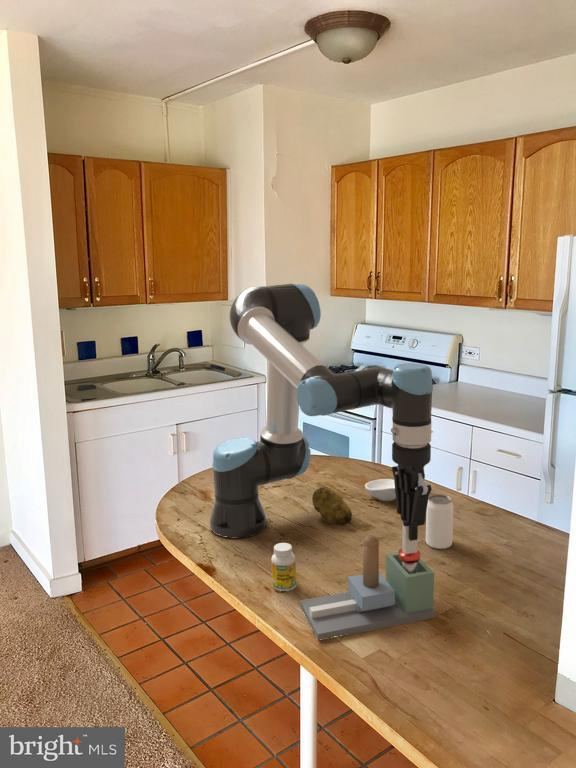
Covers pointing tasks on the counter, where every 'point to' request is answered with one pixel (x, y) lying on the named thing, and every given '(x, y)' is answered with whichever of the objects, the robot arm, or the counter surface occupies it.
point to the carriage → (371, 581)
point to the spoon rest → (382, 489)
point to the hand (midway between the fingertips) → (409, 551)
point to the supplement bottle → (283, 567)
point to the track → (343, 618)
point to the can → (439, 522)
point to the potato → (331, 506)
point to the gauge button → (409, 561)
